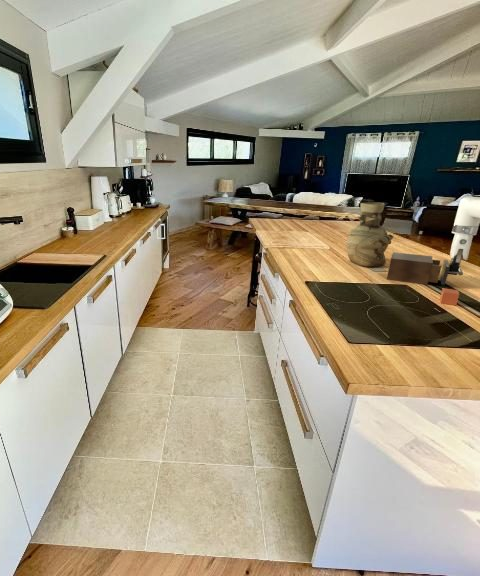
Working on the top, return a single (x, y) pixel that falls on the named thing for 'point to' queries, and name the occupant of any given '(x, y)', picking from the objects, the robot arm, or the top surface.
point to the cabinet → (410, 268)
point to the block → (449, 296)
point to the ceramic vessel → (368, 238)
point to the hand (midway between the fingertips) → (451, 274)
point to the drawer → (444, 272)
